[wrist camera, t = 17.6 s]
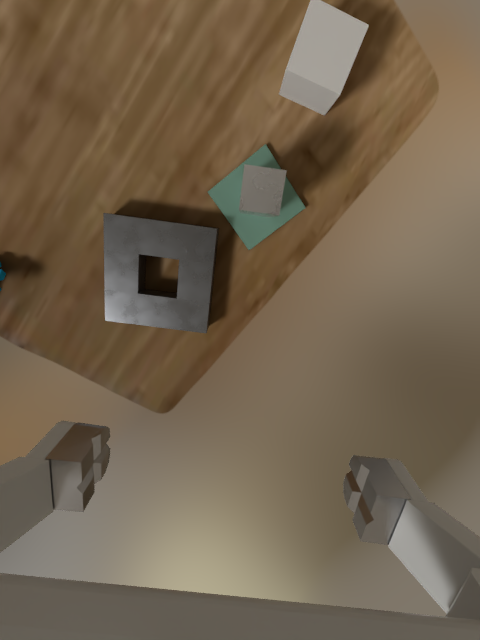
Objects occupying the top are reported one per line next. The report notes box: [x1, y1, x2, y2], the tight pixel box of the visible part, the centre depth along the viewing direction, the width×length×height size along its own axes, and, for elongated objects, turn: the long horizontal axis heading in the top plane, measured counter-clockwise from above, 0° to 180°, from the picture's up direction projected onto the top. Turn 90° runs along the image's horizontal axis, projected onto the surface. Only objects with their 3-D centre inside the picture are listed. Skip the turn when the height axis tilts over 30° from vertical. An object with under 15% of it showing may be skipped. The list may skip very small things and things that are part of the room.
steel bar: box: [239, 164, 287, 218], centre depth 33 cm, size 4×4×10 cm
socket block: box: [104, 213, 219, 333], centre depth 40 cm, size 14×14×3 cm
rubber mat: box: [208, 144, 305, 250], centre depth 38 cm, size 9×9×1 cm
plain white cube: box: [279, 0, 369, 116], centre depth 31 cm, size 6×6×6 cm
